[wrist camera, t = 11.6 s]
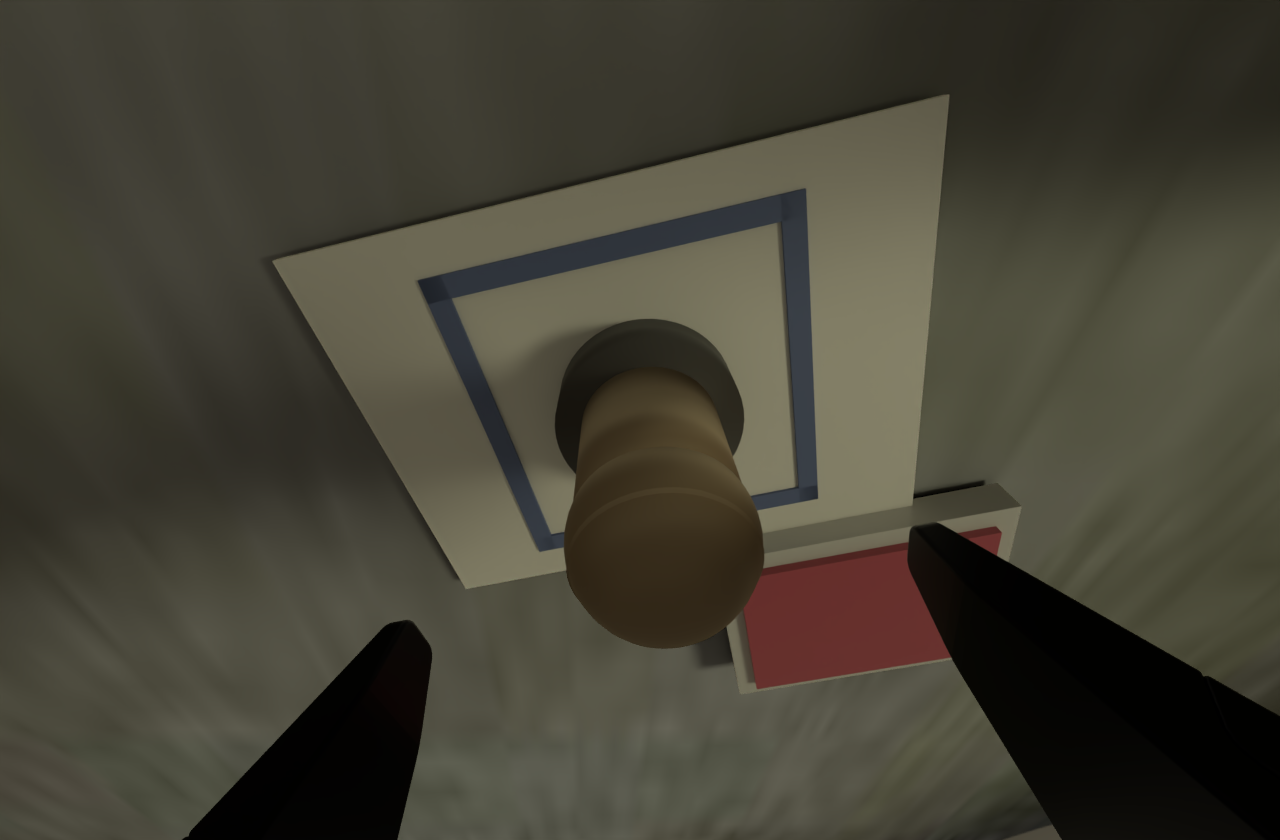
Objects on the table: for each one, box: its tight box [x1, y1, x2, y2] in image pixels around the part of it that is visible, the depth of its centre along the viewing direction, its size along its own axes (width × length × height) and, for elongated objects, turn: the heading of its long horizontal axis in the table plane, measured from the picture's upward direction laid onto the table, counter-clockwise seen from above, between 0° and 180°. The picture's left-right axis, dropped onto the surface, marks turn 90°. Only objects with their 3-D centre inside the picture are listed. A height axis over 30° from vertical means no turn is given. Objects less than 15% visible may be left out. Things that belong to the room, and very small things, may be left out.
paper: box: [272, 94, 950, 589], centre depth 15 cm, size 16×12×1 cm
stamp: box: [555, 319, 764, 649], centre depth 11 cm, size 5×5×8 cm
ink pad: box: [726, 483, 1022, 694], centre depth 19 cm, size 10×8×2 cm
